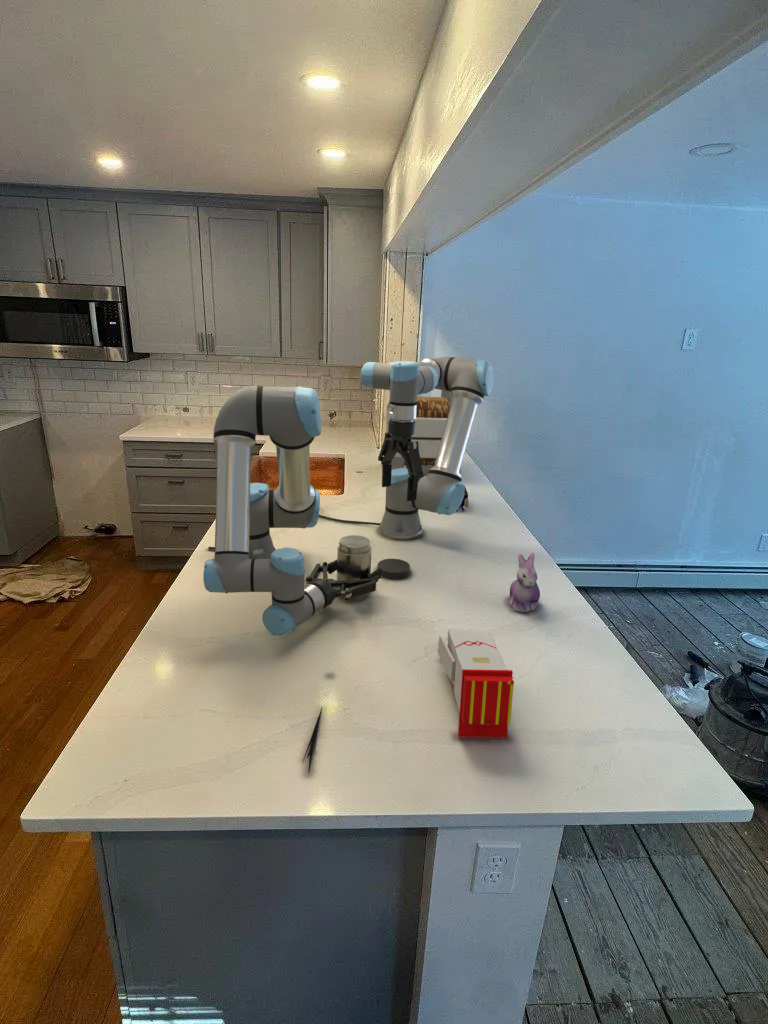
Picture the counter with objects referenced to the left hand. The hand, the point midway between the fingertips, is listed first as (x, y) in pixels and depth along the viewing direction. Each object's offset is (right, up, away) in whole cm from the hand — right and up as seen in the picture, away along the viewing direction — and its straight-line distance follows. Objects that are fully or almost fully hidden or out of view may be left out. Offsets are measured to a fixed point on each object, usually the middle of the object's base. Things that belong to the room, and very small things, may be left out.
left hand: (361, 566), depth 159 cm
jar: (-2, -7, -1) cm, 7 cm away
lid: (+9, -1, +12) cm, 15 cm away
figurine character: (+37, +17, +71) cm, 82 cm away
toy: (+24, -22, -40) cm, 52 cm away
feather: (-6, -25, -50) cm, 56 cm away
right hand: (+11, +21, +4) cm, 24 cm away
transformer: (+24, +34, +116) cm, 124 cm away
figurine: (+45, -10, -4) cm, 46 cm away
